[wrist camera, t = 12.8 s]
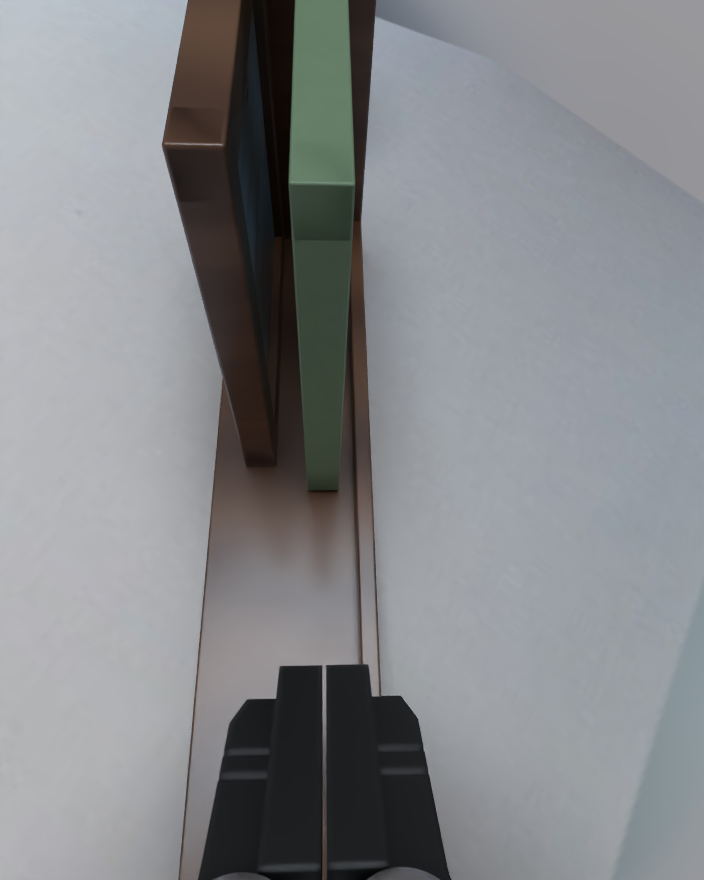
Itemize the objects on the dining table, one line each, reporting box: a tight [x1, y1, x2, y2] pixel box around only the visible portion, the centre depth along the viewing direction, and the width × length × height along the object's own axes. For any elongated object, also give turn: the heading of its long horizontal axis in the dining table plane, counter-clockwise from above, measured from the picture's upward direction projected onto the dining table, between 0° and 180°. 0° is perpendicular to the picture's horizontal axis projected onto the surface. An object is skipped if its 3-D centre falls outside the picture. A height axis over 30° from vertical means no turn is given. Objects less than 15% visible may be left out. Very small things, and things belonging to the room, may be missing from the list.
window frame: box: [162, 0, 381, 880], centre depth 18 cm, size 27×6×17 cm, turn 1°
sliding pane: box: [288, 0, 355, 490], centre depth 20 cm, size 12×1×14 cm, turn 1°
